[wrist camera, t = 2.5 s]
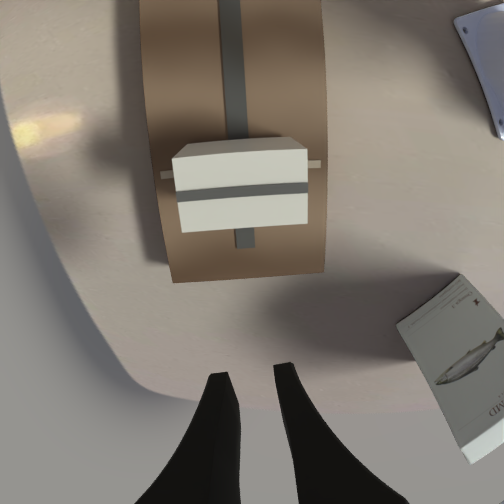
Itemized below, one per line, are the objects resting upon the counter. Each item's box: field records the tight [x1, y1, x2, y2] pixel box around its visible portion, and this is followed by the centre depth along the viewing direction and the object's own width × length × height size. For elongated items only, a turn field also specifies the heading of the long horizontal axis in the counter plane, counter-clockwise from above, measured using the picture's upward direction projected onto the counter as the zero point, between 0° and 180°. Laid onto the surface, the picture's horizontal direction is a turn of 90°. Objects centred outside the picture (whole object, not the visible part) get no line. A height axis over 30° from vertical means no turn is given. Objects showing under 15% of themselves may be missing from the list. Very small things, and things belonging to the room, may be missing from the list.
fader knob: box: [172, 137, 308, 233], centre depth 14 cm, size 3×5×4 cm, turn 93°
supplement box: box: [396, 274, 504, 464], centre depth 19 cm, size 7×7×13 cm
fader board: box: [139, 0, 328, 283], centre depth 14 cm, size 26×9×2 cm, turn 3°
